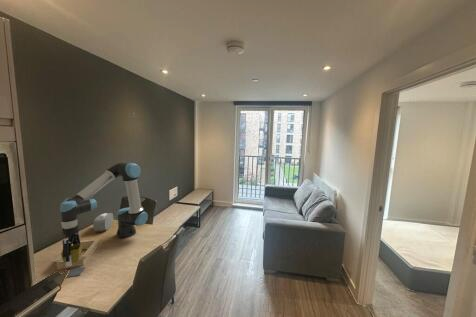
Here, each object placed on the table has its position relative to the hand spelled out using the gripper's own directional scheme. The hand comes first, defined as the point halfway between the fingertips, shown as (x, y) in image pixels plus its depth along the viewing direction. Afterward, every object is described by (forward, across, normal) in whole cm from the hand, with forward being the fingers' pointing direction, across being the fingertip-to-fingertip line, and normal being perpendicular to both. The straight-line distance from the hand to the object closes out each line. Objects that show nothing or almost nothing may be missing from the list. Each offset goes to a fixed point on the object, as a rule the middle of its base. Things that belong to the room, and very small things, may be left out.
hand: (73, 261), depth 126 cm
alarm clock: (+8, -67, -4) cm, 68 cm away
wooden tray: (+8, -19, -5) cm, 21 cm away
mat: (+8, 0, 0) cm, 8 cm away
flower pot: (0, 0, 0) cm, 0 cm away
